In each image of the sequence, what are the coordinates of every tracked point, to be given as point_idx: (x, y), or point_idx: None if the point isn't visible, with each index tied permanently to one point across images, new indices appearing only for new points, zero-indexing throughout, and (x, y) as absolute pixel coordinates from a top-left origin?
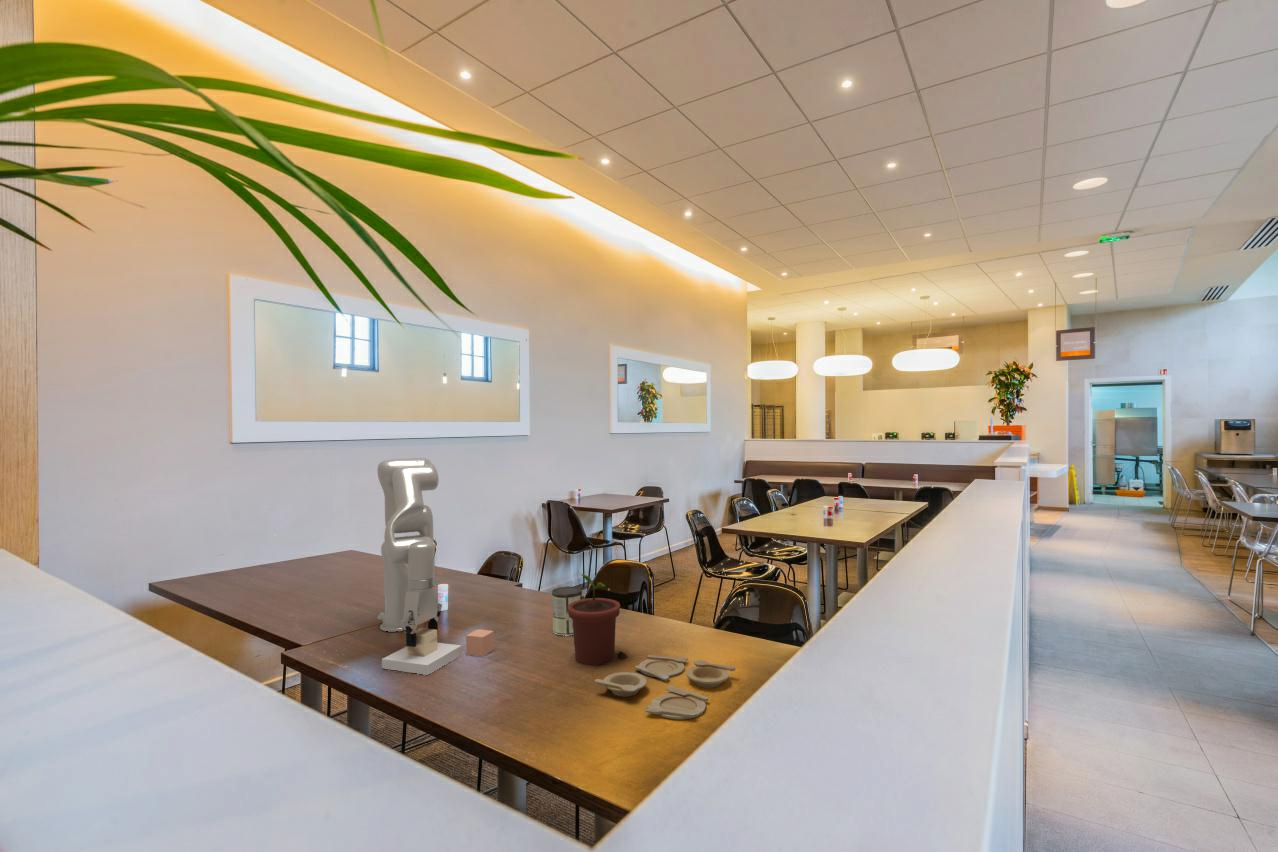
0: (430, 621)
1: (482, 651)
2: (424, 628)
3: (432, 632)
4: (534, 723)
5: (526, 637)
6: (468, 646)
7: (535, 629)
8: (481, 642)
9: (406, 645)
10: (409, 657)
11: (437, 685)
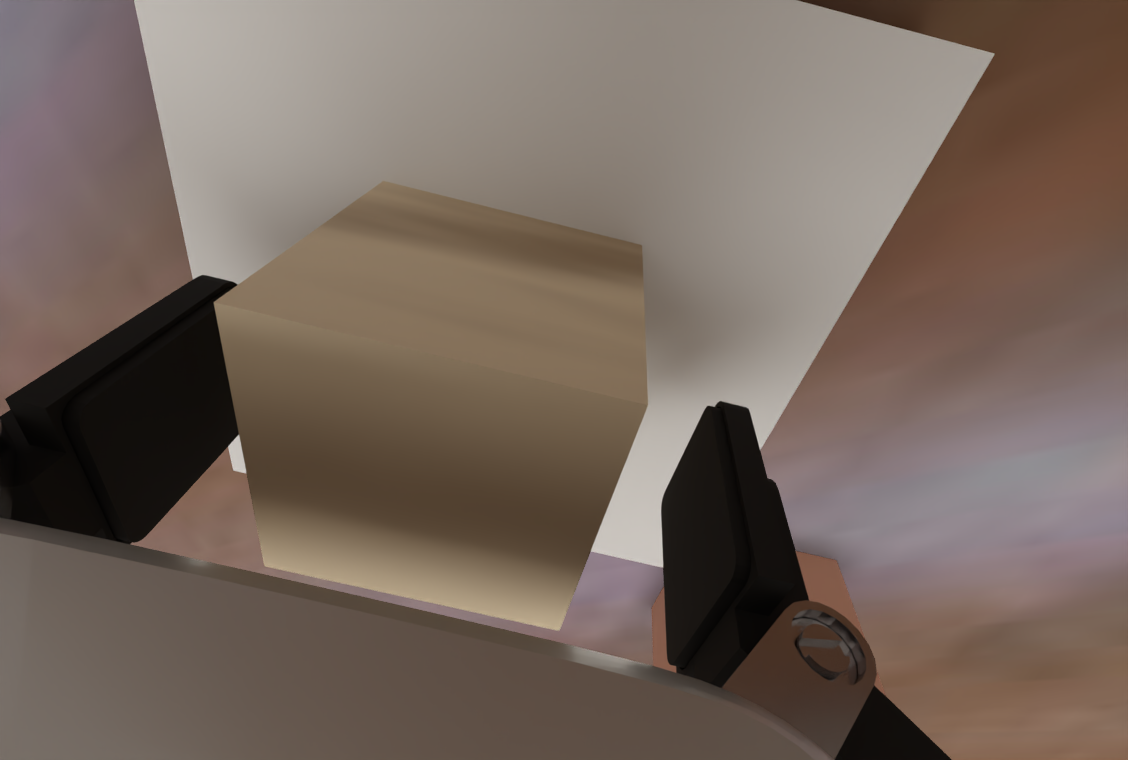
0: (734, 623)
1: (654, 637)
2: (609, 477)
3: (454, 602)
4: None
5: (968, 727)
6: None
7: (1123, 751)
8: None
9: (207, 276)
10: None
11: (196, 503)
